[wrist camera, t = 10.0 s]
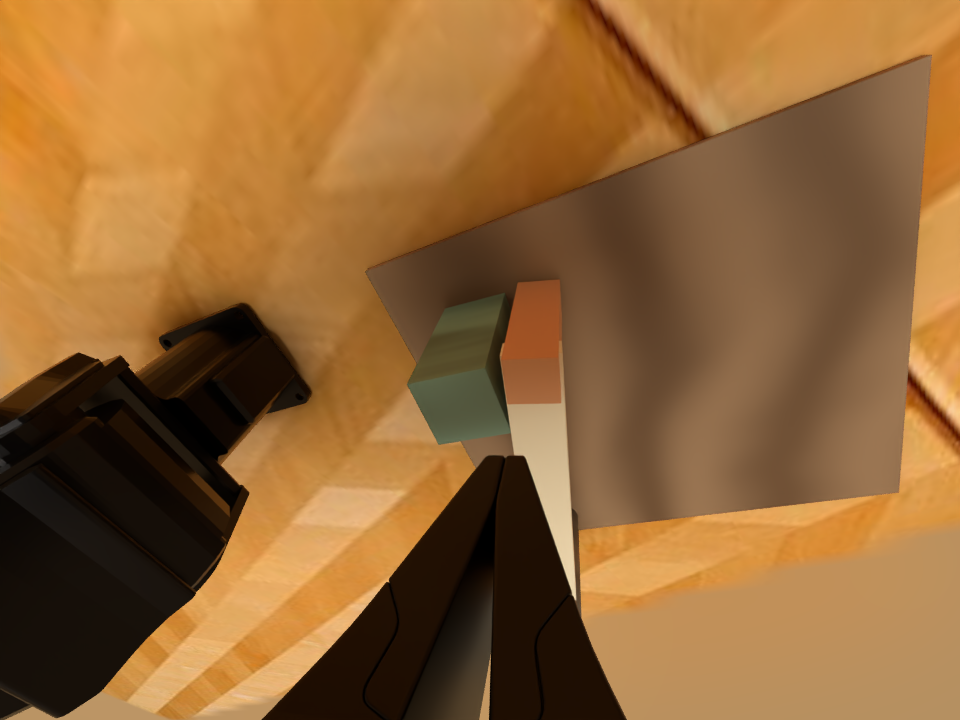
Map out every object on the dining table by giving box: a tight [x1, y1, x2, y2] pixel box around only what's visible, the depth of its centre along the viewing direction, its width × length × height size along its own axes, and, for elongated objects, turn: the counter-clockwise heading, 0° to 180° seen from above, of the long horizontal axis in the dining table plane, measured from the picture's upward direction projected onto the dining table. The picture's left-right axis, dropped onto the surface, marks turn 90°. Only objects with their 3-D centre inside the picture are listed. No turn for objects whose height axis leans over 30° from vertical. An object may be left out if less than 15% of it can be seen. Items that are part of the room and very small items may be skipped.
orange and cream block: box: [500, 279, 576, 600], centre depth 20 cm, size 14×2×6 cm, turn 8°
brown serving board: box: [365, 55, 932, 616], centre depth 18 cm, size 21×20×9 cm
